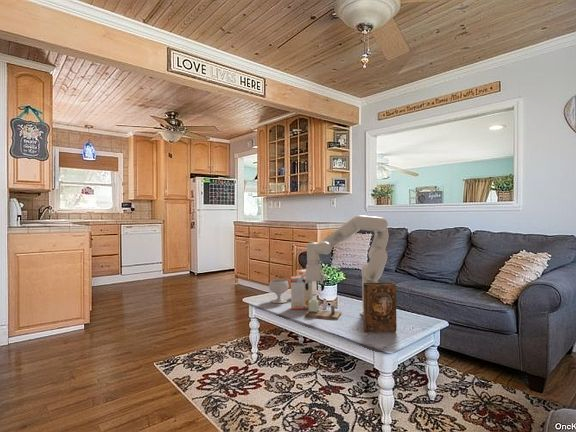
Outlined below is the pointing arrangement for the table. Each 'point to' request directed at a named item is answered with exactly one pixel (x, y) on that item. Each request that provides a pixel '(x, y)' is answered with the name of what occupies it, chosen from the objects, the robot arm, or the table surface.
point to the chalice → (278, 289)
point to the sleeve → (314, 306)
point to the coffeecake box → (303, 272)
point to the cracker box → (300, 293)
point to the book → (379, 307)
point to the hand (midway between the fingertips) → (314, 290)
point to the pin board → (325, 314)
